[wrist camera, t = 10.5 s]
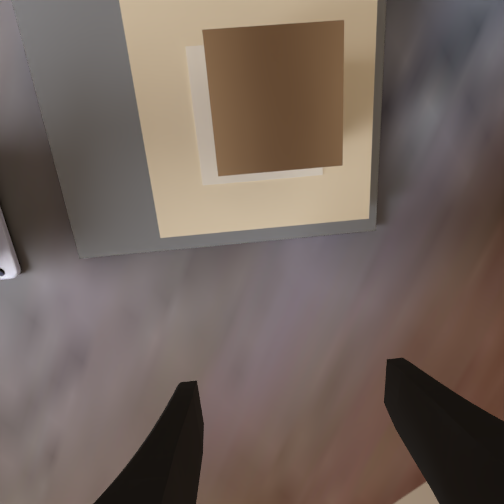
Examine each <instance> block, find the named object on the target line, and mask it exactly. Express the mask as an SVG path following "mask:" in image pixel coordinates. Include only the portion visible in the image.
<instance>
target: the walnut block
mask: <svg viewBox="0 0 504 504" xmlns="http://www.w3.org/2000/svg"><path fill="white" fill-rule="evenodd" d="M202 33H203V42H204V51H205V61H206V70H207V79H208V88H209V97H210V106H211V116H212V125H213V134H214V143H215V152H216V161H217V171H218V176H228V175H240V174H251V173H263V172H274V171H286V170H297V169H309V168H320V167H332V166H343V86H344V20H336V21H321V22H307V23H292V24H278V25H263V26H249V27H234V28H220V29H205V30H202Z"/></svg>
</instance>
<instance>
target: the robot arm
mask: <svg viewBox="0 0 504 504" xmlns="http://www.w3.org/2000/svg"><path fill="white" fill-rule="evenodd" d="M0 268H1V269H3V270H4V271H5V274H4V273H2V272H1V271H0V280H3V279H12V278H15V277H17V276H18V275H19V274H20V272H21V268H20V265H19V262H18V259H17V256H16V253H15V250H14V247H13V244H12V241H11V238H10V235H9V232H8V229H7V226H6V223H5V220H4V217H3V214H2V210H1V207H0ZM384 403H385V406H386V408H387V410H388V413H389V415H390V417H391V420H392V422H393V424H394V426H395V428H396V430H397V432H398V434H399V435H400V437H401V439H402V441H403V442H404V444H405V446H406V447H407V449H408V451H409V452H410V454H411V456H412V457H413V459H414V461H415V462H416V464H417V466H418V467H419V469H420V471H421V472H422V474H423V476H424V478H425V479H426V481H427V483H428V484H429V486H430V488H431V489H432V491H433V493H434V495H435V496H436V498H437V500H438V502H439V504H504V421H502V420H500V419H498V418H497V417H495V416H493V415H491V414H489V413H488V412H486V411H484V410H483V409H481V408H479V407H477V406H476V405H474V404H472V403H471V402H469V401H467V400H466V399H464V398H463V397H461V396H459V395H458V394H456V393H455V392H453V391H452V390H450V389H449V388H447V387H446V386H444V385H443V384H441V383H440V382H438V381H437V380H435V379H434V378H432V377H431V376H429V375H428V374H426V373H425V372H423V371H422V370H420V369H419V368H418V367H416V366H415V365H413V364H412V363H410V362H409V361H407V360H405V359H404V358H396V359H387V366H386V381H385V396H384ZM203 431H204V422H203V416H202V410H201V404H200V397H199V391H198V385H197V381H189V382H180V383H179V385H178V386H177V388H176V390H175V392H174V394H173V396H172V397H171V399H170V401H169V403H168V405H167V406H166V408H165V410H164V411H163V413H162V415H161V416H160V418H159V420H158V421H157V423H156V424H155V426H154V428H153V429H152V431H151V432H150V434H149V435H148V437H147V438H146V440H145V441H144V442H143V444H142V445H141V447H140V448H139V450H138V451H137V452H136V454H135V455H134V456H133V458H132V459H131V460H130V462H129V463H128V464H127V466H126V467H125V468H124V469H123V471H122V472H121V473H120V474H119V475H118V477H117V478H116V479H115V480H114V481H113V483H112V484H111V485H110V486H109V487H108V488H107V489H106V490H105V492H104V493H103V494H102V495H101V496H100V497H99V498H98V499H97V500H96V502H95V503H94V504H196V499H197V492H198V485H199V477H200V470H201V462H202V455H203Z"/></svg>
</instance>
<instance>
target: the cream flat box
mask: <svg viewBox="0 0 504 504" xmlns="http://www.w3.org/2000/svg"><path fill="white" fill-rule="evenodd" d="M11 1H12V4H13V8H14V12H15V16H16V20H17V23H18V27H19V31H20V35H21V39H22V42H23V46H24V50H25V54H26V58H27V61H28V65H29V69H30V73H31V77H32V80H33V84H34V88H35V92H36V96H37V99H38V103H39V107H40V111H41V115H42V118H43V122H44V126H45V130H46V134H47V137H48V141H49V145H50V149H51V153H52V156H53V160H54V164H55V168H56V171H57V175H58V179H59V183H60V187H61V190H62V194H63V198H64V202H65V206H66V209H67V213H68V217H69V221H70V225H71V228H72V232H73V236H74V240H75V244H76V247H77V251H78V255H79V259H83V258H93V257H104V256H114V255H125V254H135V253H146V252H156V251H167V250H177V249H188V248H198V247H209V246H219V245H230V244H240V243H251V242H262V241H272V240H283V239H293V238H304V237H314V236H325V235H335V234H346V233H356V232H367V231H376V215H377V194H378V172H379V151H380V129H381V108H382V86H383V64H384V43H385V21H386V0H11ZM336 20H344V86H343V166H332V167H320V168H309V169H297V170H286V171H274V172H263V173H251V174H240V175H228V176H218V171H217V161H216V152H215V143H214V134H213V125H212V116H211V106H210V97H209V88H208V79H207V70H206V61H205V51H204V42H203V33H202V30H205V29H220V28H234V27H249V26H263V25H278V24H292V23H307V22H321V21H336Z"/></svg>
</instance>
